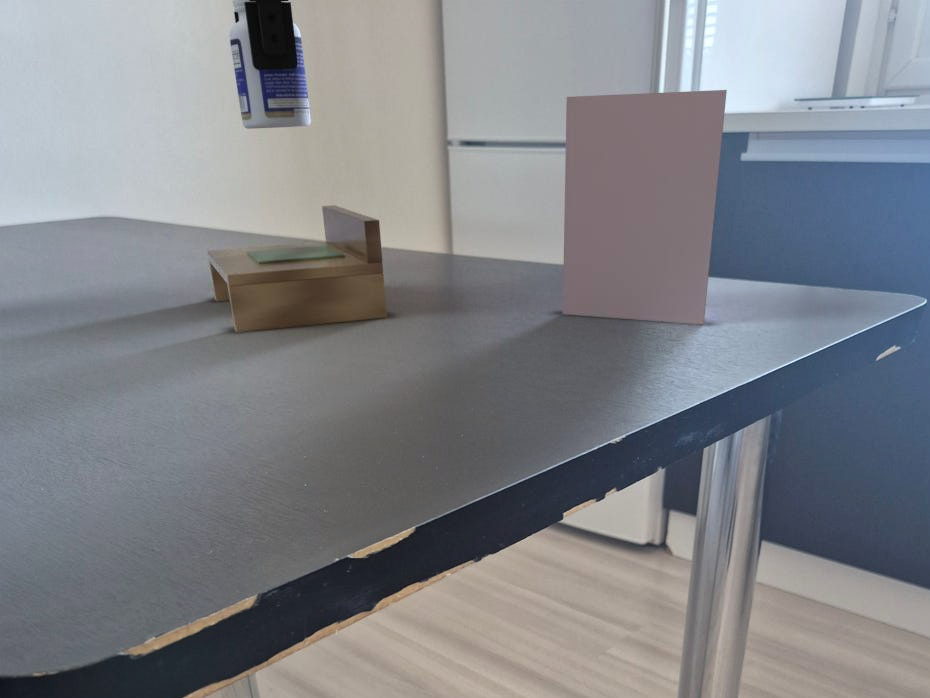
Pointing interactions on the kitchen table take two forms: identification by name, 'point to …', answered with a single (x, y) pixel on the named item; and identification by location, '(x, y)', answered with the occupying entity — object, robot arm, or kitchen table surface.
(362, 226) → the shelf
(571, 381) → the kitchen table surface
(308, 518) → the kitchen table surface
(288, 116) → the pill bottle
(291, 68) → the robot arm
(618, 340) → the kitchen table surface
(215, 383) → the kitchen table surface
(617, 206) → the greeting card
